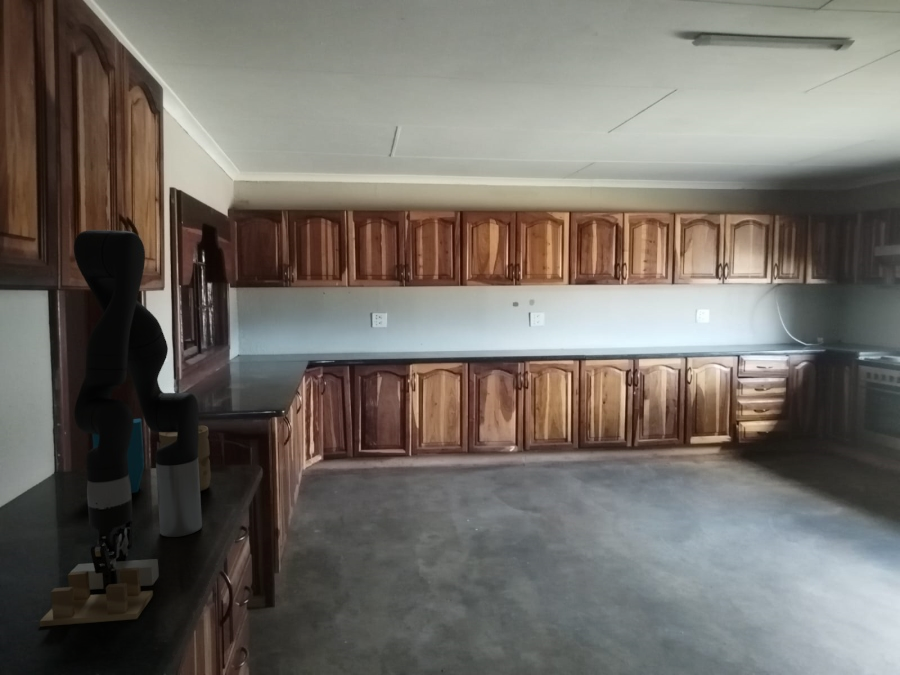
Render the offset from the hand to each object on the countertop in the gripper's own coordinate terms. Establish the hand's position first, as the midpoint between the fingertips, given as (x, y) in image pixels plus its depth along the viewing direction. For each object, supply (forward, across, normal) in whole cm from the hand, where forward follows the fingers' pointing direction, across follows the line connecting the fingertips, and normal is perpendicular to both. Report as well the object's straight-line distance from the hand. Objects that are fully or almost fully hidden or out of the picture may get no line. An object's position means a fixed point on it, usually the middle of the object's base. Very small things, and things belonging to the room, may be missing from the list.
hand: (115, 581), depth 121 cm
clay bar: (+1, 0, 0) cm, 1 cm away
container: (+1, -51, -1) cm, 51 cm away
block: (+1, -55, -20) cm, 59 cm away
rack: (0, +10, +1) cm, 10 cm away
